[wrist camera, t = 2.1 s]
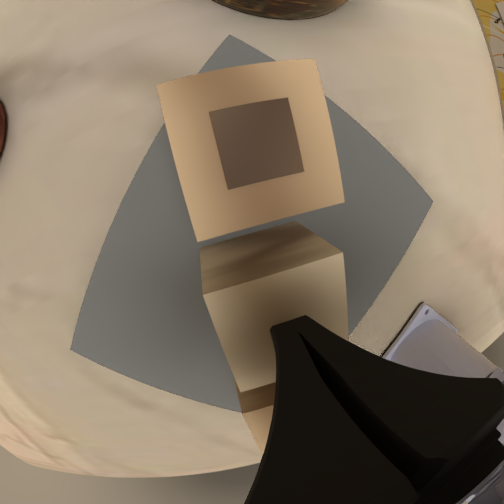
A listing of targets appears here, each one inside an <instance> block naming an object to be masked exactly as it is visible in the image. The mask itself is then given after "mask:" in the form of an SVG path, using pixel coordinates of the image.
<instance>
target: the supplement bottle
mask: <svg viewBox="0 0 504 504" xmlns="http://www.w3.org/2000/svg"><path fill="white" fill-rule="evenodd" d="M4 135H5V113H4V110H3V106H2V104H1V102H0V153H1V151H2V146H3V142H4Z"/></svg>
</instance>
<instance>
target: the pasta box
mask: <svg viewBox="0 0 504 504" xmlns="http://www.w3.org/2000/svg"><path fill="white" fill-rule="evenodd" d="M470 1H471V3H472V5H473V8H474V10H475V12H476V15H477V17H478V20H479V23H480V25H481V28H482V31H483V34H484V37H485V40H486V43H487V46H488V50H489V53H490V57H491V60H492V64H493V68H494V73H495V77H496V82H497V87H498V92H499V97H500V104H501V110H502V118H503V127H504V0H470Z"/></svg>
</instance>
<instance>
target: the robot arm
mask: <svg viewBox="0 0 504 504" xmlns="http://www.w3.org/2000/svg"><path fill="white" fill-rule="evenodd" d="M270 334H271V338H272V342H273V346H274V350H275V354H276V387H275V399H274V407H273V414H272V420H271V425H270V430H269V434H268V439H267V443H266V446H265V450H264V453H263V456H262V459H261V463H260V466H259V469H258V472H257V475H256V477H255V480H254V482H253V485H252V487H251V490H250V492H249V494H248V496H247V499H246V501H245V503H244V504H462V503H463V502H464V501H466V502H467V503H468V504H504V372H503V371H502V370H501V369H500V368H499V367H496V366H495V365H494V364H493V363H491V362H490V361H489V360H488V359H487V358H485V357H484V356H483V355H482V354H481V353H480V352H478V351H477V350H476V349H475V348H474V347H472V346H471V345H470V344H469V343H468V342H466V341H465V340H464V339H463V338H461V337H460V336H459V335H458V330H457V329H456V328H455V327H454V326H453V325H452V324H450V323H449V322H448V321H447V320H445V319H444V318H443V317H442V316H441V315H439V314H438V313H437V312H436V311H434V310H433V309H432V308H431V307H430V306H428V305H427V304H426V303H422V304H421V305H420V306H419V308H418V309H417V311H416V312H415V314H414V315H413V317H412V318H411V319H410V321H409V322H408V324H407V325H406V326H405V328H404V329H403V331H402V332H401V333H400V335H399V336H398V337H397V339H396V340H395V341H394V343H393V344H392V345H391V346H390V348H389V349H388V350H387V352H386V353H385V354H384V355H383V357H379V356H377V355H375V354H372V353H370V352H368V351H366V350H364V349H362V348H360V347H358V346H356V345H354V344H352V343H351V342H349V341H347V340H345V339H343V338H342V337H340V336H338V335H337V334H335V333H333V332H332V331H330V330H328V329H327V328H325V327H324V326H322V325H321V324H319V323H318V322H316V321H315V320H313V319H312V318H310V317H309V316H307V315H304V316H301V317H298V318H295V319H292V320H289V321H286V322H283V323H280V324H277V325H274V326H272V327H271V328H270Z"/></svg>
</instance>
